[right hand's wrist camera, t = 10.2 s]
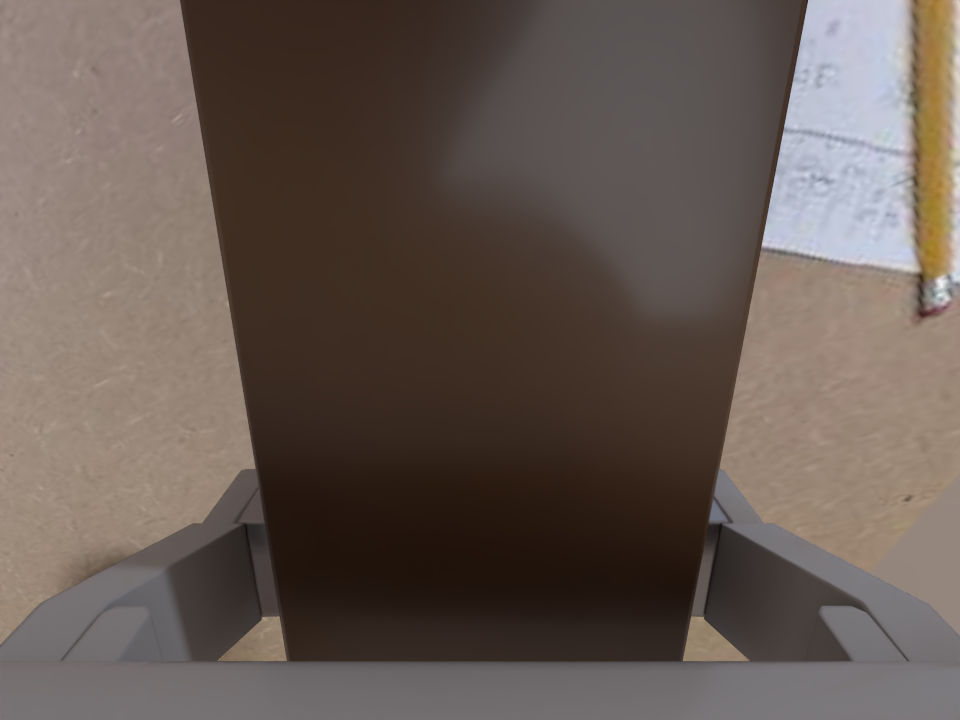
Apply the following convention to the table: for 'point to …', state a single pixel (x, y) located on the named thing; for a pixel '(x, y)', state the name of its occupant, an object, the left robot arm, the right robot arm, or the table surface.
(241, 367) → the beam
